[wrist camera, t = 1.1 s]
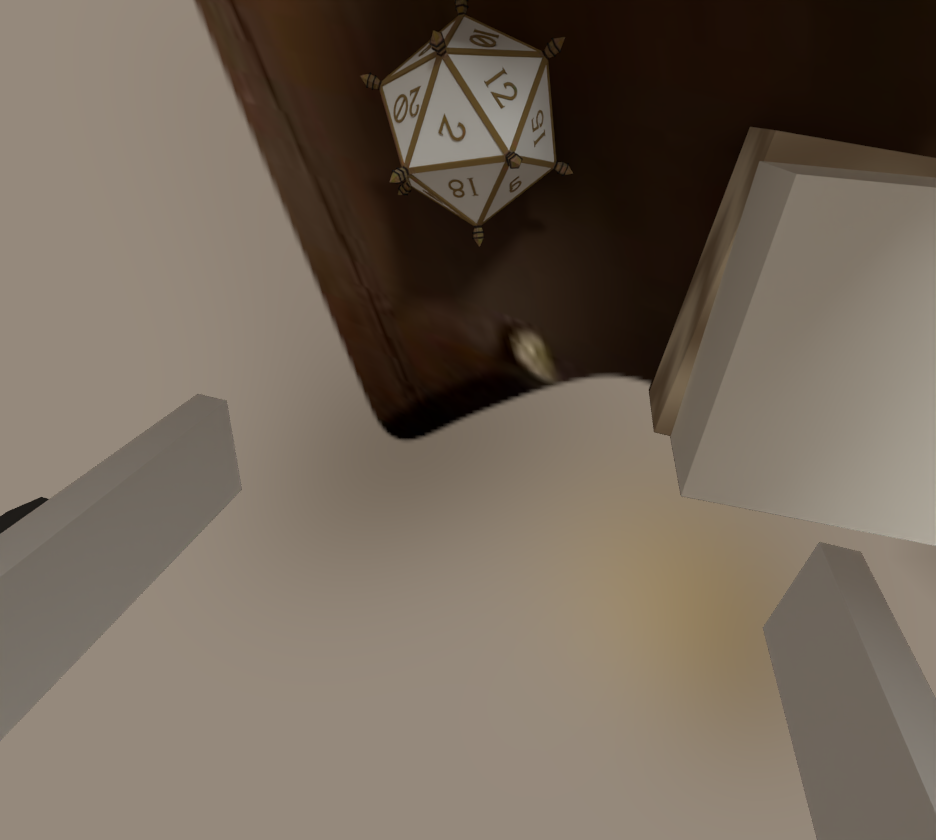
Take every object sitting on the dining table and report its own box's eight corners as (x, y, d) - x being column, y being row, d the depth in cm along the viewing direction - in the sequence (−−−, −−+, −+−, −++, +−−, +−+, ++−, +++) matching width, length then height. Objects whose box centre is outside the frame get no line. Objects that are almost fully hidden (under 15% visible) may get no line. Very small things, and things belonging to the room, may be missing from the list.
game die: (484, 157, 31) (358, 250, 27) (450, -30, 24) (279, 56, 20) (622, 181, 26) (492, 299, 22) (625, -44, 19) (443, 65, 16)
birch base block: (747, 126, 24) (775, 130, 20) (1082, 184, 23) (1188, 201, 19) (648, 389, 32) (654, 432, 28) (895, 447, 30) (940, 502, 26)
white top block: (759, 161, 21) (796, 174, 17) (1148, 197, 19) (1302, 223, 15) (670, 437, 28) (680, 495, 23) (949, 486, 26) (1015, 561, 21)
